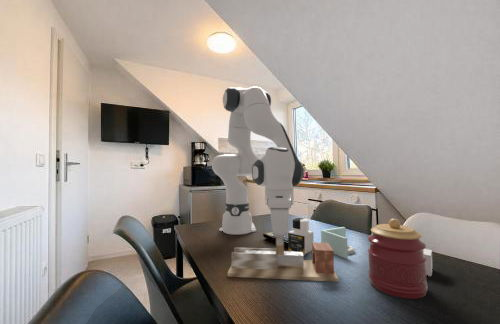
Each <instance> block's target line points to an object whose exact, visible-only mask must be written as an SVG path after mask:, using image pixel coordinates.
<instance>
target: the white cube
mask: <svg viewBox="0 0 500 324" xmlns="http://www.w3.org/2000/svg"><path fill="white" fill-rule="evenodd" d="M423 252H424V256H425V257H426V276H427V275H428V277H431V276H432V275H433V270H432V269H433V250H432V249H429V248H428V249H427V248H425V249H424V250H423Z"/></svg>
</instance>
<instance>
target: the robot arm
mask: <svg viewBox="0 0 500 324" xmlns="http://www.w3.org/2000/svg"><path fill="white" fill-rule="evenodd" d="M222 104H223V105H222V106H223V108H224V110H225V111H226V112H227V111H228V112H230V115H229V121H228V133H227V135H228V136H227V142H228V143H229V145H230V146H232V147H233V148H235V149H237V154H234V153H233V154H232V153H231V154H228V153H225V154H219V155H218V154H217V155H216V156H214V158H213V160H212V161H211V168H212V171H213V172H214V174H215V175H216V176H218V177H219V178H220V179H221V181H222V182H223V185H224V186H225V193H226V194H225V195H226V197H225V198H226V203H225V212H224V213H223V214H222V224H221V225H222V227H220V228H219V231H220V232H222V231H223V232H222V233H224V234H226V235H247V234H250V233H255V232H257V228H256V226H255V224H254V221H253V219H252V216H253V215H252V214H251V213H250V203H249V189H248V187H247V185H246V184H244V183H243V182H241V181H239V180H238V176H239V177H240V176H241V177H242V176H244V177H245V176H247V177H248V176H251V178H252V180H253V182H254V183H255V184H256V185H257V186H262V187H264V202H265V205H267V208H268V209H269V213H270V222H271V230H272V235H273V237H275V239H276V238H277V245H279V246H282V245H283V237H284V238H285V237H287V236H288V227H289V217H290V209H291V208H292V206H293V205H294V204H295V203H294V200H295V199H294V187H296V186H298V185H299V184H300V183H301V181H302V180H303V179H304V176H305V175H304V174H305V170H304V167H303V164H302V163H301V161H300V159H299V158H298V156H297V154H296V152H295V150H294V146H293V144H292V142H291V140H290V137H289V136H288V133H287V131H286V129H285V127H284V125H283V124H282V123H281V122H280V121H279V120H277V118H276V117H275V115H274V114H273V112H272V110H271V105H272V98H271V95H270V93H269V92H267V91H265V90H264V89H262V87H260V86H259V87H258V86H251V87H249V88H246V87H245V88H244V87H234V86H233V87H227V89H225V90H224V93H223V95H222ZM251 133H253V134H255V135H258V136H261V137H263V138H267V139H268V140H270V141H272V142H273V143H274V144H275V145H276V146H271V147H268V148H266V150H265V154H264V155H263V156H262V157H261V158H259V156H257V155H256V153H254V150H253V147H252V144H251V143H252V142H251ZM219 231H218V232H219Z"/></svg>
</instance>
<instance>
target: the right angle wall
mask: <svg viewBox="0 0 500 324" xmlns="http://www.w3.org/2000/svg"><path fill="white" fill-rule="evenodd" d="M320 243H328V244H329V245H330V246H331V248H332V249H333V251H334V255H335V256H338V257H340V258H343V259H345V260H347V258H348V259H349V257H348V255H354V253H355V248H354V247H353V246H351V245H348V238H347V237H346V227H345V226H340V227H333V228H328V229H321V230H320Z"/></svg>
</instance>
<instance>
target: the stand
mask: <svg viewBox="0 0 500 324" xmlns="http://www.w3.org/2000/svg"><path fill="white" fill-rule="evenodd" d="M245 250H259V251H276V248H267V247H266V248H263V247H262V248H261V247H259V248H258V247H234V249H233V251H232V252H231V265H230V267H229V269H228V272H227V277H228V278H229V277H231V278H252V279H255V278H256V279H271V280H273V279H275V280H294V281H295V280H297V281H315V282H317V281H318V282H333V283H334V282H336V283H339V276H338V275H337V273H336V271H335V261H334V260H335V258H334V257H335V254H334V251H333V249H332V248H331V246H330V245H329V244H328V243H321V242H314V243H312V251H311V259H304V267H301V266H278V254H264V253H244V252H245Z"/></svg>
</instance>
